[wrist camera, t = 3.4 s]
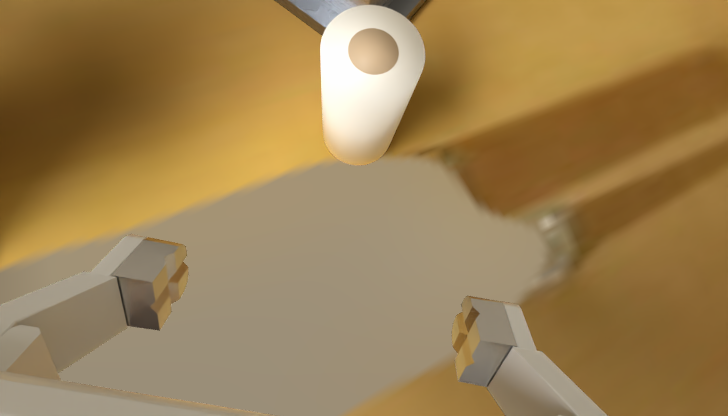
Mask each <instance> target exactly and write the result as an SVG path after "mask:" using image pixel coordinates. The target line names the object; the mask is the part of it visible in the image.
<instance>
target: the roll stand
mask: <svg viewBox="0 0 728 416" xmlns="http://www.w3.org/2000/svg"><path fill="white" fill-rule="evenodd" d="M275 1H276V2H278V3H279V4H280V5H282V6H283V7H284V8H286V9H287V10H288V11H290V12H291V13H292V14H294V15H295V16H296V17H298V18H299V19H301V20H302V21H303V22H305V23H306V24H307V25H309V26H310V27H311V28H313V29H314V30H315V31H317V32H318V33H319V34H321V35H322V36H323V34H324V31H325V29H326V28H327V26H328V25H329V23H330V22H331V21H332V20H333V19H334V18H335V17H336V16H337V15H339V14H340V13H342V12H343V11H345V10H347V9H350V8H353V7H356V6H361V5H377V6H383V7H387V8H389V9H392V10H394V11H396V12H398V13H400V14H401V15H403V16H404V17H406V18H407V19H408V20H410V19H411V18H412V16H413V15H414V14H415V13H416V12H417V11H418V9H419V8H420V7H421V6H422V5H423V4H424V3H425V1H426V0H275Z"/></svg>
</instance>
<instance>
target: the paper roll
mask: <svg viewBox="0 0 728 416" xmlns="http://www.w3.org/2000/svg"><path fill="white" fill-rule="evenodd" d="M320 57H321V90H322V123H323V138H324V142H325V145H326V147H327V148H328V150H329V151H330V153H331V154H332V155H333V156H334V157H336V158H337V159H338V160H340V161H342V162H344V163H347V164H351V165H366V164H370V163H372V162H375V161H376V160H378V159H379V158H381V157H382V156H383V155H384V154H385V152H386V151H387V149H388V147H389V145H390V143H391V141H392V138H393V136H394V134H395V132H396V129H397V127H398V125H399V123H400V120H401V118H402V116H403V114H404V112H405V109H406V107H407V105H408V103H409V100H410V98H411V96H412V94H413V91H414V89H415V87H416V85H417V82H418V80H419V78H420V76H421V73H422V71H423V68H424V63H425V48H424V44H423V40H422V38H421V36H420V34H419V32H418V30H417V29H416V28H415V26H414V25H413V24H412V23H411V22H410V21H409V20H408V19H407V18H406V17H404V16H403V15H401V14H400V13H398V12H396V11H394V10H392V9H389V8H387V7H383V6H377V5H361V6H356V7H353V8H350V9H347V10H345V11H343V12H342V13H340V14H339V15H337V16H336V17H335V18H334V19H333V20H332V21H331V22H330V23H329V25H328V26H327V28H326V29H325V31H324V34H323V36H322V40H321V46H320Z"/></svg>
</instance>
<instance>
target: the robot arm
mask: <svg viewBox="0 0 728 416" xmlns="http://www.w3.org/2000/svg"><path fill="white" fill-rule="evenodd" d="M186 256H187V250H186V246H185V245H183V244H178V243H174V242H169V241H164V240H159V239H154V238H149V237H148V238H147V237H142V236H138V235H133V234H129V235H126V236H124V237H123V238H122V240H120V241H119V242H118V244H117V245H116V246H115V247H114V248H113V249H112V250H111V251H110V252H109V253H108V254H107V255H106V256H105V257H104V258H103V259H102V260H101V261H100V262H99V263H98V264H97V265H96V266H95V267H94V268H93V269H92V270H91V271H90V272H84V271H83V272H81V273H79V274H76V275H73V276H71V277H68V278H66V279H63V280H61V281H58V282H56V283H53V284H51V285H48V286H46V287H44V288H41V289H38V290H36V291H33V292H31V293H28V294H26V295H23V296H21V297H18V298H16V299H13V300H11V301H8V302H6V303H3V304H1V305H0V416H277V415H271V414H264V413H258V412H253V411H246V410H239V409H234V408H228V407H222V406H216V405H209V404H203V403H197V402H191V401H184V400H178V399H172V398H166V397H159V396H154V395H147V394H141V393H135V392H129V391H123V390H116V389H110V388H104V387H98V386H92V385H86V384H79V383H73V382H67V381H61V379H60V377H59V375H58V373H59V372H61V371H63V370H64V369H65V368H67V367H69V366H70V365H72V364H73V363H75V362H76V361H78V360H79V359H81V358H82V357H84V356H85V355H87V354H88V353H90V352H92V351H93V350H94V349H96V348H97V347H99V346H100V345H102V344H104V343H105V342H107V341H108V340H110V339H111V338H113V337H114V336H116V335H117V334H118V333H120V332H122V331H123V330H125V329H127V326H131V327H138V328H145V329H153V330H159V331H160V329H161V328H162V327H163V325H164V323H165V322H166V320H167V319H168V317H169V315H170V314H171V312H172V308H171V304H172V303H174V302H176V301H178V300H179V299H180V298H181V296H182V294H183V292H184V291H185V288H186V285H187V282H188V275H189V272H188V267H187V265H186V264H185V263H184V262H183V261H184V259H185V258H186ZM461 306H462V311H463V312H461V313H459V314H458V315H456V317H455V320H454V322H453V327H452V346H453V348H454V349H455V350H456V352H457V353H458V355H457V357H456V359H455V365H456V371H457V377H458V381H459V382H464V383H470V384H475V385H480V386H485V387H487V389H488V391H489V392H490V394H491V395H492V397H493V398H494V400H495V401H496V403H497V404H498V405H499V407H500V408H501V410H502V411H503V413H504V414H505V416H607V415H606V414H605V413H604V412H603V411H602V410H601V409H600V408H599V407H598V406H597V405H596V404H595V403H594V402H593V401H592V400H591V399H590V398H589V397H588V396H587V395H586V394H585V393H584V392H583V391H582V390H581V389H580V388H579V387H578V386H577V385H576V384H575V383H574V382H573V381H572V380H571V379H570V378H568V377H567V376H566V375H565V374H564V373H563V372H562V371H561V370H560V369H559V368H558V367H557V366H556V365H555V364H554V363H553V362H552V361H551V360H550V359H549V358H548V357H547V356H546V355H545V354H544V353H543V352H541V351H537V349H536V347H535V344H534V342H533V339H532V336H531V334H530V331H529V328H528V326H527V323H526V320H525V318H524V315H523V313H522V310H521V307H520V306H519V305H518V304H514V303H508V302H501V301H500V302H499V301H495V300H489V299H483V298H477V297H471V296H466V297H465V298H464V300H463V302H462V304H461Z"/></svg>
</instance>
